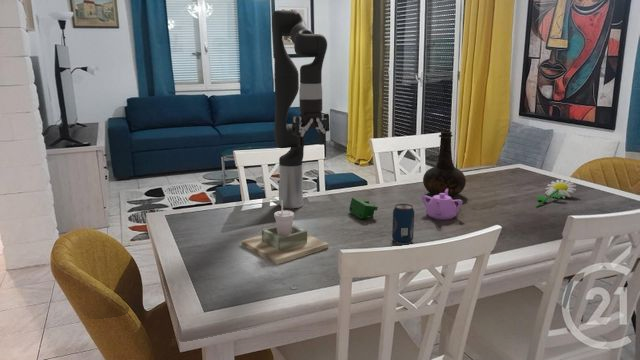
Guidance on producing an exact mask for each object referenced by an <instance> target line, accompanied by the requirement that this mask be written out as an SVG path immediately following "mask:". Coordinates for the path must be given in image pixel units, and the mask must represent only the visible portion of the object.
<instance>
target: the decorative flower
mask: <svg viewBox="0 0 640 360" xmlns="http://www.w3.org/2000/svg"><path fill="white" fill-rule="evenodd" d="M574 183H575V182H574V181H573V182H571V180H570V179H568V180H566V181H564V179H561V180H559V179H556V181H553V180H552V181H551V182H550V184H547V185H546V186H547V187H545V190H546V191H545V192H544V194H545V195H547V196H546V197H545V196H544V195H537V196H536V199H538V200H539V201H540V202H539V203H538V204H536V205H535V206H536V207H535V208H538V206H539V207H540V206H541V205H542V204H544V203H545V202H546V201H548V200H549V199H550V198H552V197H554V198H553V199H555V198H556V199H557V198H560V199H561V198H563V199H565V198H566V197H568V198H571V195H570V194H574V193H575V191H577V189H576V187H577V185H576V184H574Z"/></svg>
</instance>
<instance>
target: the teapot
mask: <svg viewBox="0 0 640 360" xmlns="http://www.w3.org/2000/svg"><path fill="white" fill-rule="evenodd" d="M427 199H428V200H429V201H428V203H427ZM421 201H422V203H423V205H424V207H425V212H426V215H428V216H429V217H430V218H431V219H435V220H445V221H447V220H451V219H453V218H455V217H456V216H457V212H458V211H459V209H460V208H461V207H462V205H463V200H462V199H453V198H452V197H450V196H448V189H446V190H445V193H439V195H435V196H434V195H432V196H429V195H426V194H425V195H422V198H421ZM456 203H458V204H457V206H456Z"/></svg>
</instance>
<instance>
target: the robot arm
mask: <svg viewBox="0 0 640 360" xmlns="http://www.w3.org/2000/svg"><path fill="white" fill-rule="evenodd" d="M271 16H272V17H271V28H272V29H271V30H272V40H273V51H274V52H273V53H274V54H273V55H274V59H273V60H274V65H273V66H274V73H273V74H274V95H275V96H274V101H275V102H274V103H275V108H274V109H275V112H274V129H273V130H274V131H273V134H274V135H273V136H274V143H275V145H276V147H277V148H279V149H288V148H289V150H288V151H287V152H286V153H285V154H283V155H280V156H279V158H278V164H279V165H278V166H279V167H278V169H279V170H278V171H279V173H278V174H279V181H278V204H279V206H280V207H281V200H283V209H298V208H301V207H303V206H304V199H303V198H304V197H303V195H304V191H303V189H304V187H303V186H304V182H303V161H304V155H305V154H304V150H305V149H304V148H305V133H306V132H307V131H309V130H310V129H316V130H317V132H318V133H317V144H318V145H319V146H321V145H322V146H323V145H324V144H325V141H326V140H325V137H326V136H325V134H326V133H328V132H329V131H330V114H329V113H325V112H322V111H323V86H322V81H323V80H322V78H323V76H322V70H323V65H324V61H325V56H326V53H327V50H328V41H327V38H326V37H325V35H324V34H320V33H313V31H312V30H311V29H309V27H307V24H306V21H305V19H304V17H303V15H302V14H301V12H299V11H297V10H284V9H283V10H274V11H273V13H272V15H271ZM283 37H290V40H291V41H292V43H293V44H294V45H293V47H294V52H295V54H296V55H297V56H299V57H301V58H303V57H304V58H307V57H309V58H310V57H313V58H314V59H313V60H312V62H310V63H306V64H303V65H301V66H300V67H299V71H298V68H297V66H296V65H295V63H294V62H293V60H292V59H291V57H290V55H289V54H288V52H287V50H286V47H285V44H284V40H283ZM298 93H299V97H298V98H299V112H300V116H294V115H293V116H292V118H291V119H292V120H291V123H287V118H288V114H289V110H290V108H291V106H292V104H293V103H294V101H295V99H296V97H297V96H298Z"/></svg>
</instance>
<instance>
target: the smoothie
mask: <svg viewBox="0 0 640 360" xmlns="http://www.w3.org/2000/svg"><path fill="white" fill-rule="evenodd" d="M280 207H281V210H278V211H276V212H274V215H273V217H274V218H275V226H277V232H278V235H279V236H281V237H282V236H286V235H289V234H291V232H292V225H293V221H294V218H295V212H293V211H292V210H286V209H285V210H284V208H283V200H281V206H280Z"/></svg>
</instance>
